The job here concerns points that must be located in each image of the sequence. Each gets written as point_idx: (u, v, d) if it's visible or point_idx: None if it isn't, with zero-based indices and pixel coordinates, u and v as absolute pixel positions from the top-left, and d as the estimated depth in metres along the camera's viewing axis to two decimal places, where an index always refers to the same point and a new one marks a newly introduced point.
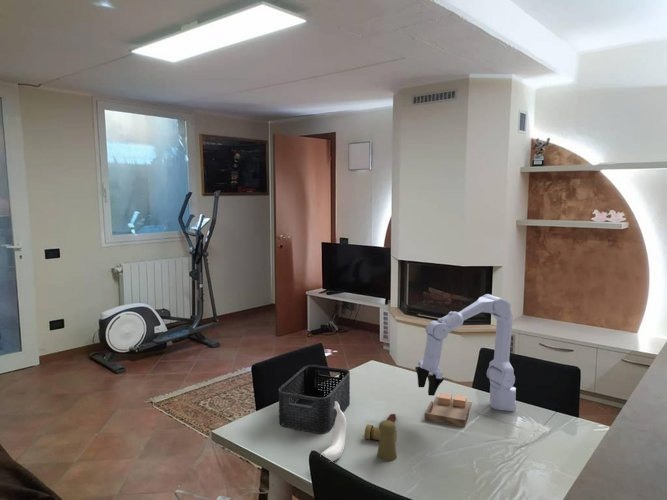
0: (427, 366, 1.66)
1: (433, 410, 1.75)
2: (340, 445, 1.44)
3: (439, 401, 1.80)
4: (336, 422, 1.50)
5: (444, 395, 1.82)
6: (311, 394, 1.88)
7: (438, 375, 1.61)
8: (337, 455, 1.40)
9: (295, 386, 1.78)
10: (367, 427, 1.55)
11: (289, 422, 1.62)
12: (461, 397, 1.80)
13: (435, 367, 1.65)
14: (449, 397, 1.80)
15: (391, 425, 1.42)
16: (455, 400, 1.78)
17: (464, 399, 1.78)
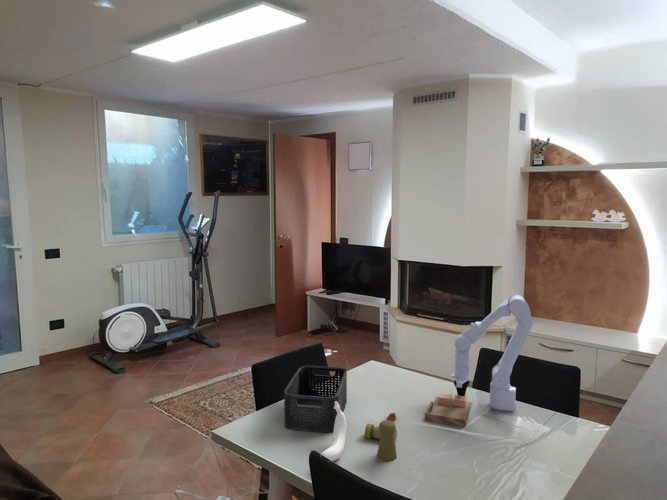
0: (455, 375, 1.81)
1: (433, 410, 1.75)
2: (340, 445, 1.44)
3: (439, 401, 1.80)
4: (336, 422, 1.50)
5: (444, 395, 1.82)
6: (306, 395, 1.87)
7: (457, 384, 1.76)
8: (337, 455, 1.40)
9: (294, 388, 1.76)
10: (367, 426, 1.55)
11: (297, 424, 1.61)
12: (461, 397, 1.80)
13: (462, 377, 1.79)
14: (449, 397, 1.80)
15: (391, 425, 1.42)
16: (455, 400, 1.78)
17: (464, 399, 1.78)
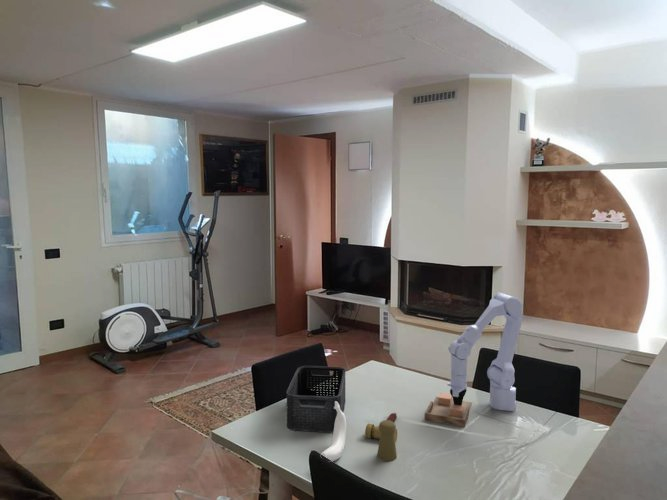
0: (451, 384, 1.73)
1: (433, 410, 1.75)
2: (340, 445, 1.44)
3: (439, 401, 1.80)
4: (336, 422, 1.50)
5: (444, 395, 1.82)
6: (304, 395, 1.87)
7: (453, 393, 1.68)
8: (337, 455, 1.40)
9: (294, 388, 1.76)
10: (368, 426, 1.56)
11: (300, 425, 1.60)
12: (458, 406, 1.72)
13: (458, 385, 1.71)
14: (449, 397, 1.80)
15: (391, 425, 1.42)
16: (452, 410, 1.70)
17: (461, 409, 1.70)
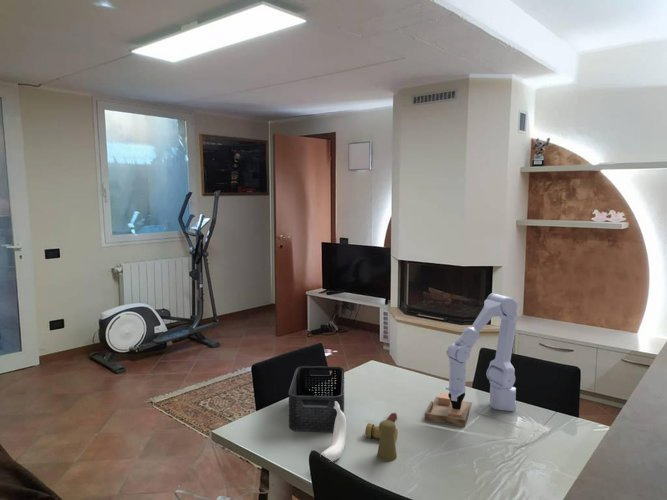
0: (450, 387, 1.70)
1: (433, 410, 1.75)
2: (340, 445, 1.44)
3: (439, 401, 1.80)
4: (336, 422, 1.50)
5: (444, 395, 1.82)
6: (302, 395, 1.87)
7: (452, 397, 1.64)
8: (337, 455, 1.40)
9: (294, 389, 1.75)
10: (368, 426, 1.56)
11: (303, 425, 1.60)
12: (456, 411, 1.68)
13: (457, 389, 1.68)
14: None
15: (391, 425, 1.42)
16: (450, 414, 1.67)
17: (459, 413, 1.67)
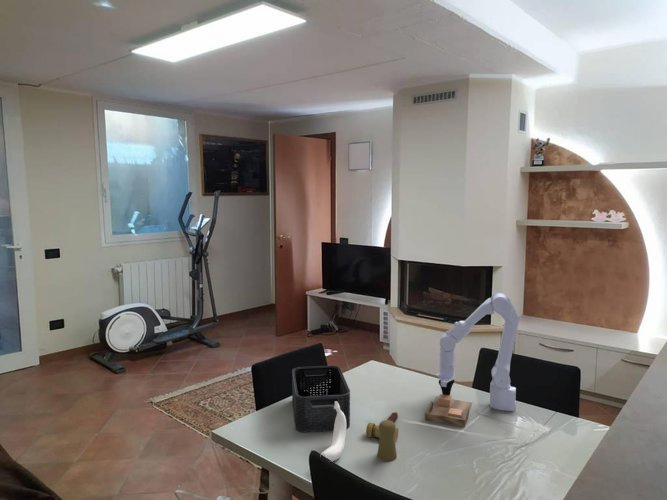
0: (440, 375, 1.82)
1: (433, 410, 1.75)
2: (340, 445, 1.44)
3: (439, 402, 1.79)
4: (336, 422, 1.50)
5: (444, 396, 1.81)
6: None
7: (441, 383, 1.77)
8: (337, 455, 1.40)
9: None
10: (369, 425, 1.56)
11: (311, 426, 1.60)
12: (456, 411, 1.68)
13: (446, 376, 1.80)
14: (449, 398, 1.79)
15: (391, 425, 1.42)
16: (450, 414, 1.67)
17: (459, 413, 1.67)
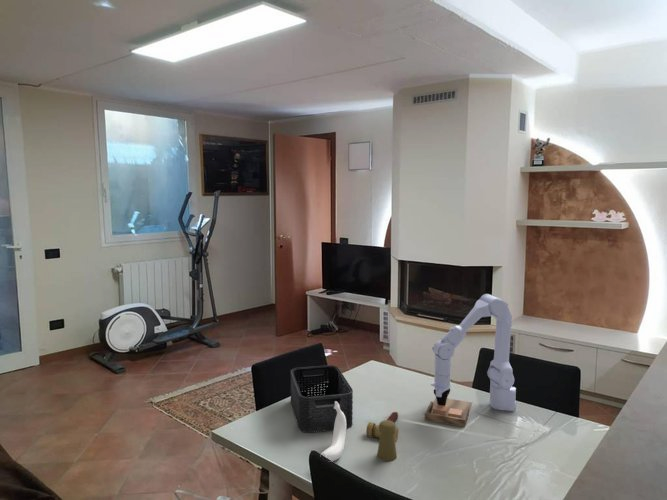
0: (435, 384, 1.73)
1: None
2: (340, 445, 1.44)
3: (434, 413, 1.70)
4: (336, 422, 1.50)
5: (439, 406, 1.72)
6: None
7: (436, 393, 1.67)
8: (337, 455, 1.40)
9: (294, 391, 1.73)
10: (369, 425, 1.57)
11: (315, 426, 1.60)
12: (456, 411, 1.68)
13: (442, 386, 1.71)
14: (444, 409, 1.70)
15: (391, 426, 1.42)
16: (450, 414, 1.67)
17: (459, 413, 1.67)
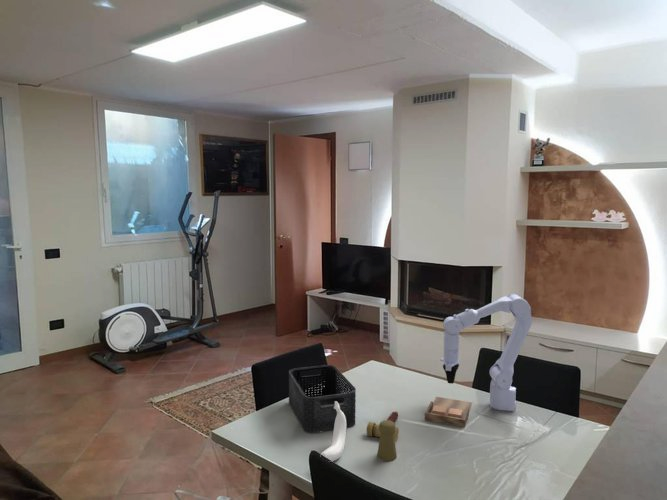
0: (444, 359, 1.78)
1: None
2: (340, 445, 1.44)
3: None
4: (336, 422, 1.50)
5: (438, 408, 1.71)
6: None
7: (446, 367, 1.72)
8: (337, 455, 1.40)
9: None
10: (369, 424, 1.57)
11: (320, 426, 1.60)
12: (456, 411, 1.68)
13: (451, 360, 1.76)
14: (444, 410, 1.69)
15: (391, 425, 1.42)
16: (450, 414, 1.67)
17: (459, 413, 1.67)
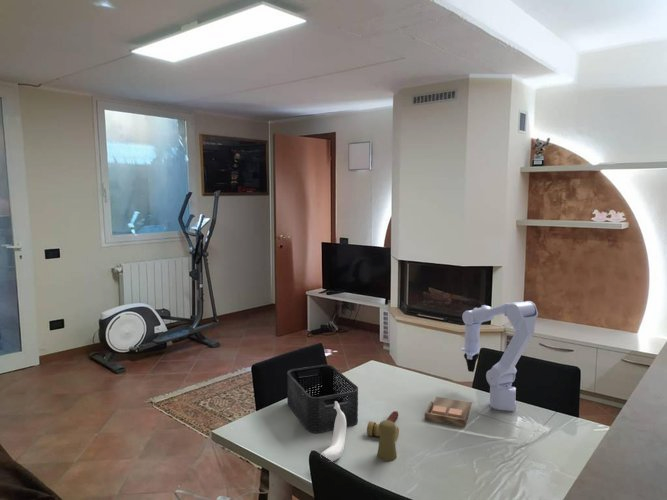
0: (465, 349, 1.90)
1: None
2: (340, 445, 1.44)
3: None
4: (336, 422, 1.50)
5: (438, 408, 1.71)
6: None
7: (467, 356, 1.84)
8: (337, 455, 1.40)
9: None
10: (369, 424, 1.57)
11: (325, 425, 1.60)
12: (456, 411, 1.68)
13: (472, 350, 1.88)
14: (444, 410, 1.69)
15: (391, 425, 1.42)
16: (450, 414, 1.67)
17: (459, 413, 1.67)
